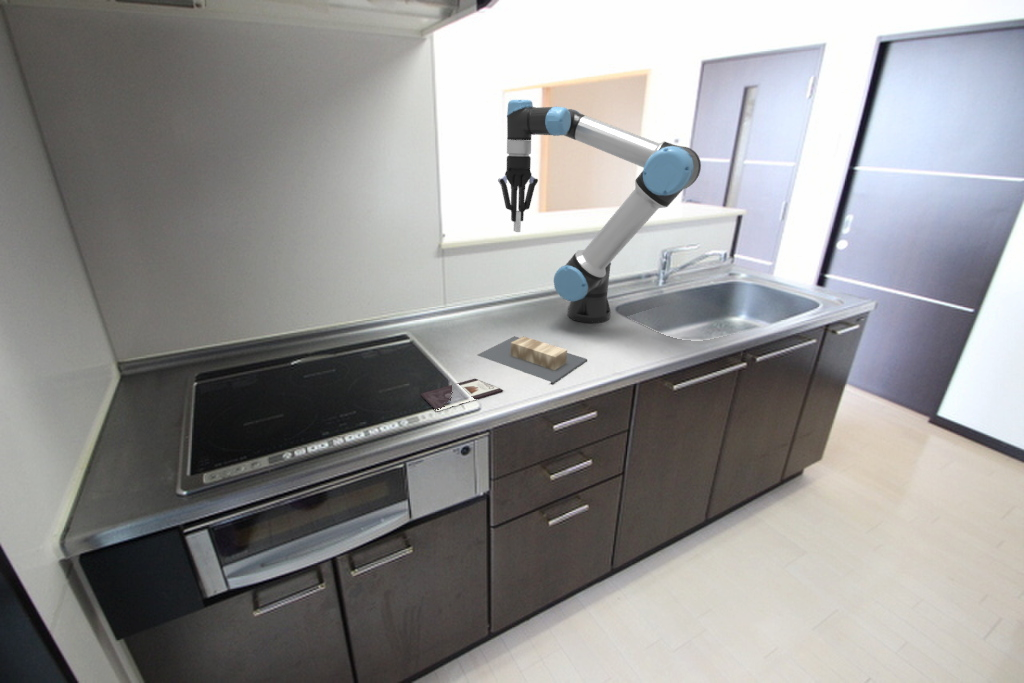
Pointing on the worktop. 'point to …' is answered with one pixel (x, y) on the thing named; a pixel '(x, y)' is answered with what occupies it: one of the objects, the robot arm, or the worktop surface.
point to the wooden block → (539, 353)
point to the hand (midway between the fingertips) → (516, 231)
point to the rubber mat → (503, 356)
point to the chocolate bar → (472, 387)
